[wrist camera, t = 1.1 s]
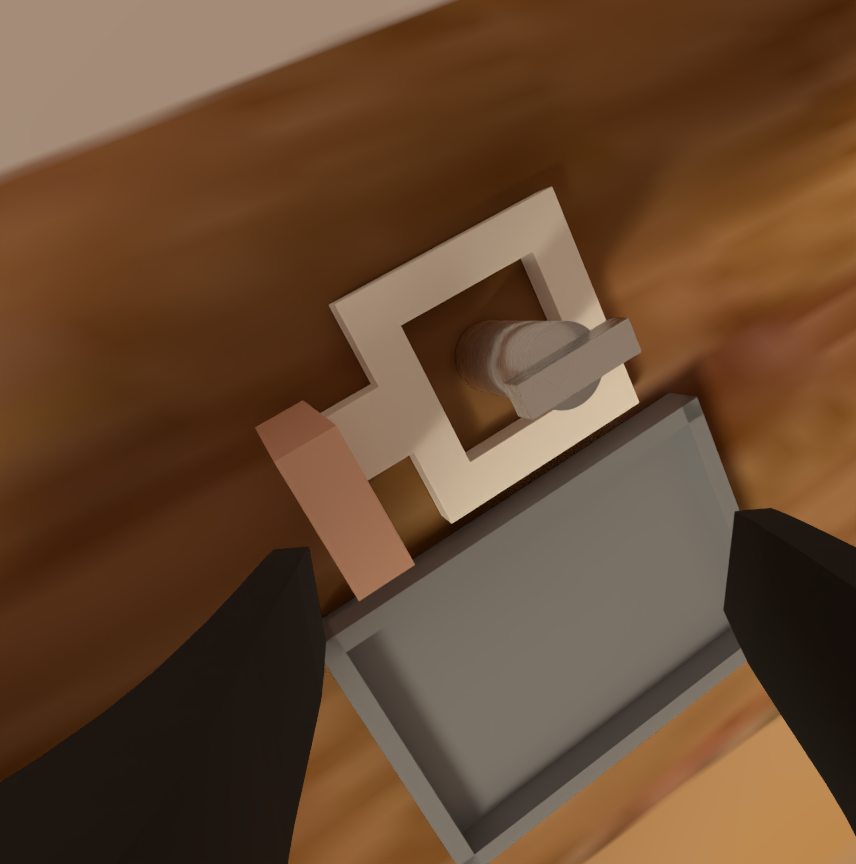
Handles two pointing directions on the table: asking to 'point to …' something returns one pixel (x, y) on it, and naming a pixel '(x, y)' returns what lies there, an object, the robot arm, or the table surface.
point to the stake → (543, 360)
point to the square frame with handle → (433, 395)
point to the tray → (549, 631)
